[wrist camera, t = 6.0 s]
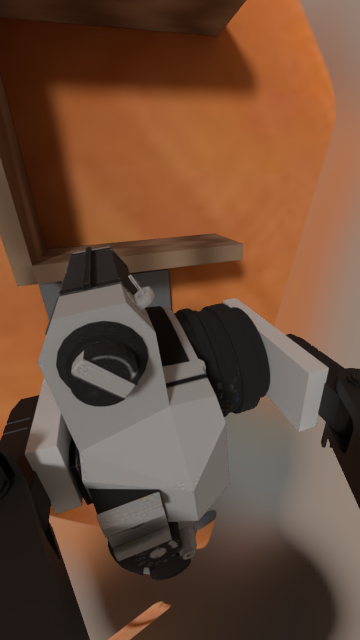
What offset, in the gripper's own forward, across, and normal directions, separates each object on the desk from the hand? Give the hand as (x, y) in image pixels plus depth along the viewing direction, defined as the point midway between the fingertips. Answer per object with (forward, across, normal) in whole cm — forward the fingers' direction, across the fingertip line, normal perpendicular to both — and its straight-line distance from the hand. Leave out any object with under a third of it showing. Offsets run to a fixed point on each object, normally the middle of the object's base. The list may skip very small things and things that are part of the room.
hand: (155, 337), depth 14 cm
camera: (0, 0, -1) cm, 1 cm away
